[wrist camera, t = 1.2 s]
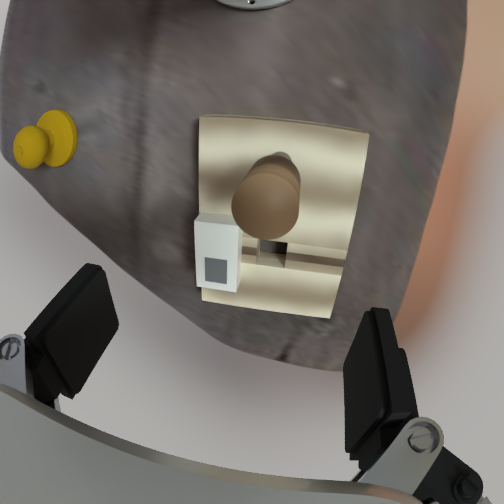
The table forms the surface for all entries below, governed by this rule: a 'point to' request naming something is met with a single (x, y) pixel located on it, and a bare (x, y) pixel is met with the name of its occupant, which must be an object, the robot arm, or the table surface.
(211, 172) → the cream slotted tray
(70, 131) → the doorknob
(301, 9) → the table surface
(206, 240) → the block
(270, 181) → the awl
